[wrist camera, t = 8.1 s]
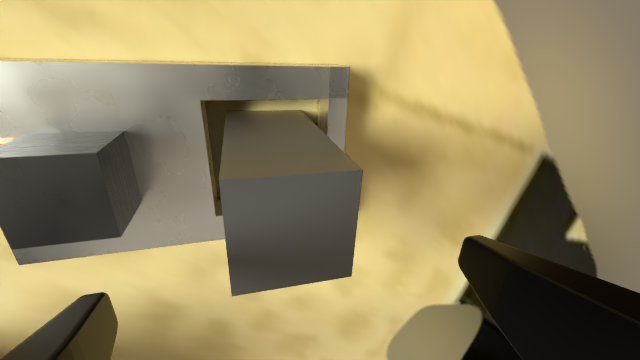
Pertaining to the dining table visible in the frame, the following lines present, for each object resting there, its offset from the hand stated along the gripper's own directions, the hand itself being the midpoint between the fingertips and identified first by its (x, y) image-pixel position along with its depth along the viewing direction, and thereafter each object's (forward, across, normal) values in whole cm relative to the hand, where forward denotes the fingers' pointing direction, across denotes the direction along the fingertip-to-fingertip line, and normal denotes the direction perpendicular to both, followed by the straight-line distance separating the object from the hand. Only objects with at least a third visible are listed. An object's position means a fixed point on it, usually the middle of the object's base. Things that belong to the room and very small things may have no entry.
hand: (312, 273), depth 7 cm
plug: (+11, 0, 0) cm, 11 cm away
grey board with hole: (+11, +4, 0) cm, 11 cm away
